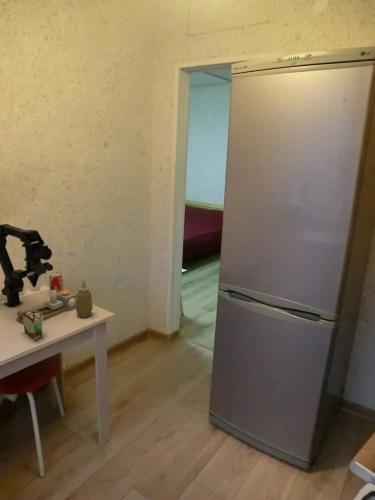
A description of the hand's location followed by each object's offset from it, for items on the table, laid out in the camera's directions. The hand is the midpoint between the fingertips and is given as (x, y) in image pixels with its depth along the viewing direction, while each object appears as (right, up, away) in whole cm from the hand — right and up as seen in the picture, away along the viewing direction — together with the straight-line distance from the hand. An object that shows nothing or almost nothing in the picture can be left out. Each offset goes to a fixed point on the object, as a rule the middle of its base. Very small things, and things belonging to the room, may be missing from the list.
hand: (34, 286), depth 171 cm
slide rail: (+5, -14, -1) cm, 15 cm away
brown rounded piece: (+12, -7, +9) cm, 17 cm away
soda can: (+2, -7, +25) cm, 26 cm away
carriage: (+8, -10, +4) cm, 13 cm away
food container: (+9, -19, -19) cm, 29 cm away
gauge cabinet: (+12, -11, +10) cm, 19 cm away
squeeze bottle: (+24, -14, +2) cm, 28 cm away
